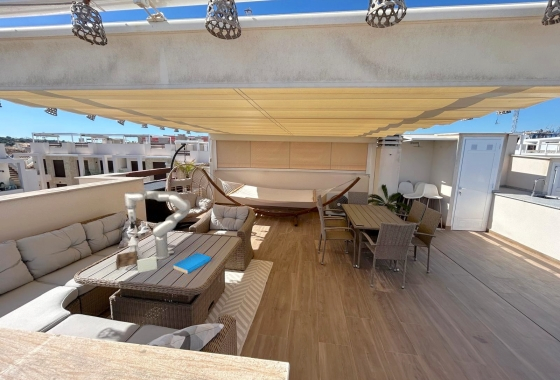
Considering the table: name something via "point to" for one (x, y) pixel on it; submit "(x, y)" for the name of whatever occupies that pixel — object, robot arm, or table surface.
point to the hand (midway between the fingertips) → (132, 226)
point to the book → (191, 263)
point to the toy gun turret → (134, 245)
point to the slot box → (126, 259)
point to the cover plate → (147, 264)
